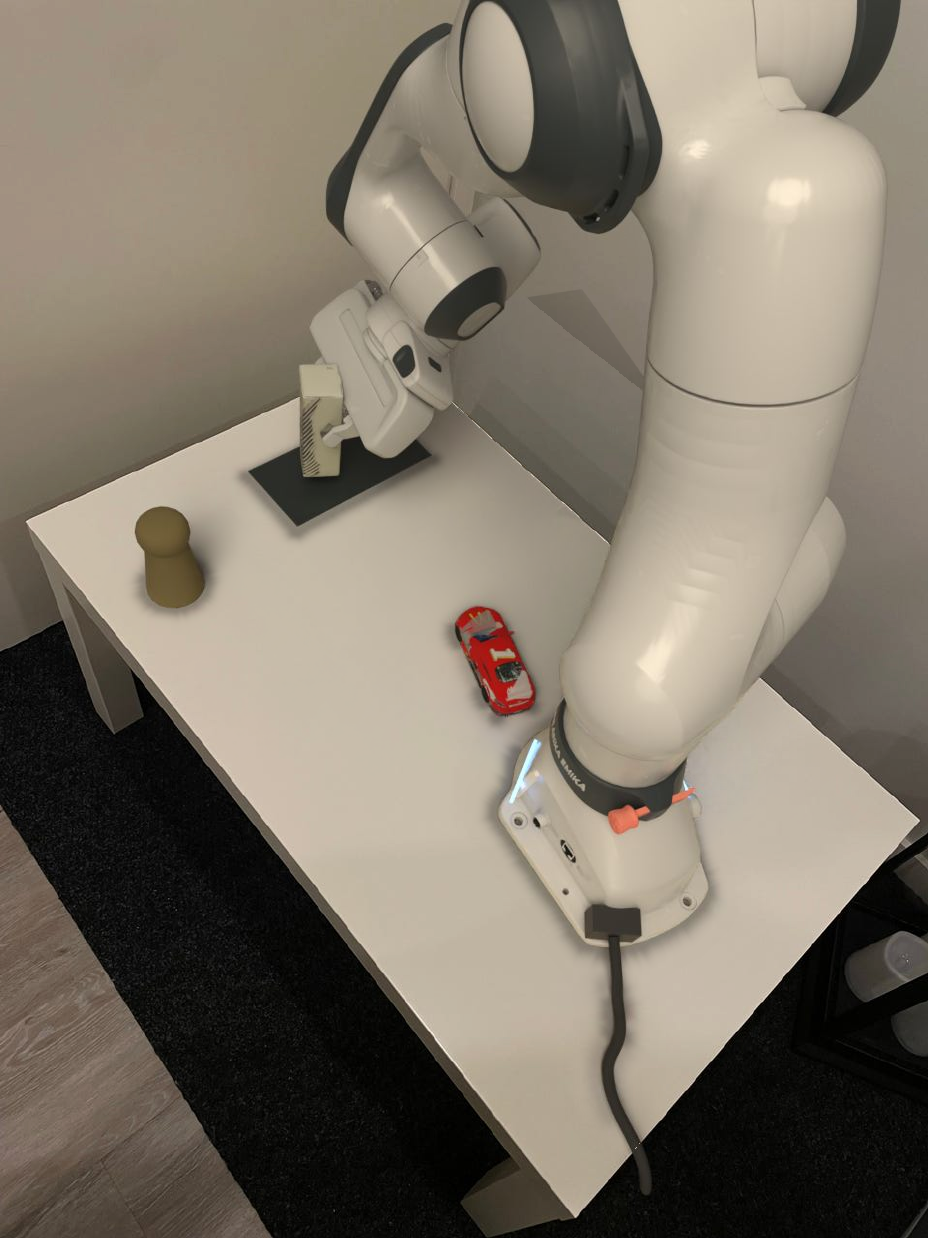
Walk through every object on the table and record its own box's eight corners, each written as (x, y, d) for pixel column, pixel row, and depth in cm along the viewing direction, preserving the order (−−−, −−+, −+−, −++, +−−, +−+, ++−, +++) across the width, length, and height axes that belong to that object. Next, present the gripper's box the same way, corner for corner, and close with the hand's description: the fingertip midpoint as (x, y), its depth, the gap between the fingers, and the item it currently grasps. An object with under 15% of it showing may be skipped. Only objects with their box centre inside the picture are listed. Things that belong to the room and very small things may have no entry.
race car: (447, 620, 96) (452, 600, 93) (492, 609, 98) (498, 589, 94) (490, 724, 90) (497, 706, 86) (537, 711, 91) (546, 693, 88)
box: (299, 446, 103) (297, 361, 92) (336, 444, 103) (339, 360, 93) (303, 480, 100) (301, 396, 89) (341, 478, 101) (344, 395, 90)
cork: (210, 566, 95) (199, 502, 86) (196, 612, 92) (183, 550, 83) (155, 557, 95) (138, 492, 86) (138, 603, 91) (118, 539, 82)
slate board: (297, 532, 99) (297, 526, 99) (248, 476, 103) (247, 470, 102) (431, 460, 108) (432, 454, 107) (381, 411, 112) (382, 405, 111)
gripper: (353, 255, 92) (267, 343, 98) (424, 388, 83) (325, 477, 88) (389, 285, 98) (306, 367, 103) (459, 413, 89) (364, 496, 94)
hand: (315, 419), depth 95 cm, fingers closed on box, 5 cm apart
